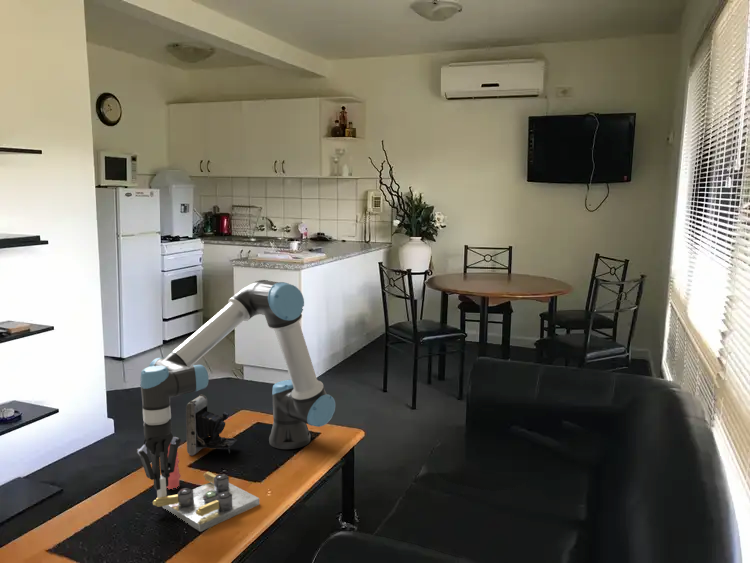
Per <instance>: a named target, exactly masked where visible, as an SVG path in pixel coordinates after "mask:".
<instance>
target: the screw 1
mask: <svg viewBox="0 0 750 563" xmlns="http://www.w3.org/2000/svg"><path fill="white" fill-rule="evenodd" d="M193 503H194V495H193V490H192V489H191V488H190V487H184V488H180V489H179V491H178V492H177V494H172V495H167V496H165V497H159V498H157V497H156V499H154V500H153V501H152V505H153V506H156V507H157V508H160V507H163V506H166V505H172V504H178V505H179V506H189V505H191V504H193Z"/></svg>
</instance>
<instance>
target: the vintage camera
mask: <svg viewBox="0 0 750 563" xmlns="http://www.w3.org/2000/svg"><path fill="white" fill-rule="evenodd" d="M185 411H186V412H185V416H186V417H185V420H186V421H185V423H186V426H185V427H186V430H185V431H186V452H187V454H188V455H189V456H191V457H192V456H196V454H197V453H199V451H201V450H202V449H220V450H228V453H229V454H230V453H231V449H230V448H231V447H232V446H233V445H234V444H235V443H237V441H238V439H235V438H232V437H226V436H225V437H222V436H220V434H222V433H223V432H224V430H225V427H226V422H225V421H226V420H228V419H229V416H230V413H228V412H226V411H224V412H223V413H222V416H220V415H219V414H217V413H213V412H210V411H208V398H207V396H206V395H204V394H199V396H197V397H196V398H194V399H193V400H190V401H189V402H188V403H187V404H186V406H185Z"/></svg>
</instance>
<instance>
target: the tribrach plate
mask: <svg viewBox="0 0 750 563" xmlns="http://www.w3.org/2000/svg"><path fill="white" fill-rule="evenodd" d="M192 490H193V495H194V503H193V504H191V505H189V506H179V505H178V504H172V505H166V506H162V509H164V510H165V509H166V511H167V510H168V511H169V512H168V511H167V512H168V513H170V512H171V513H172V515H173V514H174V515H173V516H175V515H176V516H177V517H176V516H175V517H176V518H178V519H179V518H180V519H179V520H181V519H182V520H183V522H184V521H185V522H184V523H185V524H187V523H188V524H187V525H189V526H190V527H192V528H193V529H195V530H197V531H198V532H204V531H205V530H208V529H210V528H211V527H214V526H216V525H218V524H220V523H222V522H225V521H227V520H229V519H231V518H234V517H235V516H237V515H240V514H242V513H244V512H247V511H249V510H250V509H251V510H252V509H253V508H256V507H257V506H259V505H260V497H258V496H256V495H254V494H252V493H249V492H248V491H246V490H244V489H242V488H240V487H238V486H236V485H234V484H232V483H230V482H229V488H228V489H227V490H225V491H215V490H214V484H213V483H211V482H208V483H205V484H202V485H200V486H198V487H195V488H193V489H192ZM221 492H229V493H231V494H232V508H230V509H228V510H218V509H217V510H215V511H213V512H210V513H208V514H206V515H203V516H200V515H197V514H196V511H197V510H198V509H199V507H201V506H203V505H206V504H208V503H210V502H213V501H215V500H216V496H217V495H218V494H219V493H221ZM171 513H170V514H171ZM182 520H181V521H182Z"/></svg>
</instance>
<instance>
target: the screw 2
mask: <svg viewBox="0 0 750 563" xmlns="http://www.w3.org/2000/svg"><path fill="white" fill-rule="evenodd" d="M203 477H204V479H205V481H208V483H210V482H211V483H213V484H214V490H215V491H225V490H227V489H228V488H229V483H230V478H229V476H228V474H225V473H219V474H217V475H216V474H214V473H212V472H210V471H206V472H204V473H203Z"/></svg>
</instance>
